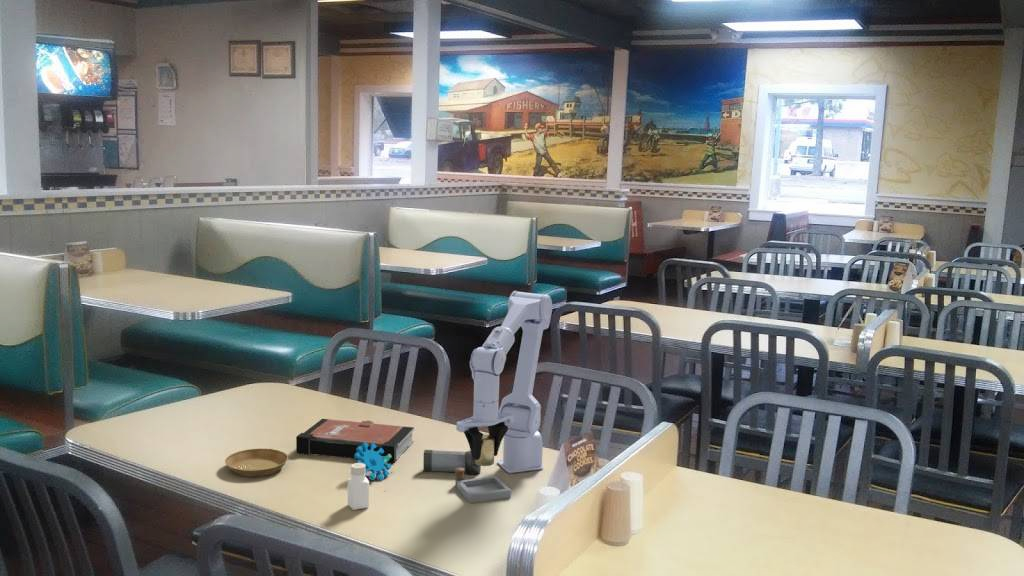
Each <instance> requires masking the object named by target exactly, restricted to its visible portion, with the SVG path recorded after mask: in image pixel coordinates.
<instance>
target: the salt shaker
mask: <svg viewBox="0 0 1024 576" xmlns="http://www.w3.org/2000/svg"><path fill="white" fill-rule="evenodd" d="M350 475H351V476H350V477H349V478H348V479H347V505H348V507H350V508H351V510H353V511H356V510H361V509H368V508H369V506H370V480H369V479H368V478H367V477H366V475H367V473H366V465H365V464H363V462H362V463H356V462H355V463H352V464H351V465H350Z"/></svg>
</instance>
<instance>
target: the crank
mask: <svg viewBox="0 0 1024 576" xmlns="http://www.w3.org/2000/svg"><path fill="white" fill-rule="evenodd" d="M423 451H424V452H423V461H422V462H423V465H422V466H423V470H422V471H424V472H452V473H456V471H455V469H456V468H464V469H465V471H464V474H465V473H466V474H469V475H476V474H480V473H481V471H482V469H481V467H482V466H480V465H477V464H475V459H474V458H472V455H471V450H466V451H457V450H456V451H453V450H433V449H424V450H423Z"/></svg>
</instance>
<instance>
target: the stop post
mask: <svg viewBox="0 0 1024 576" xmlns="http://www.w3.org/2000/svg"><path fill="white" fill-rule="evenodd" d="M455 471H456V472H455V482H454V483H455V484H454V485H455V487H456V488H457V481H461V480H465V472H464V471H465V469H464V468H456V469H455Z"/></svg>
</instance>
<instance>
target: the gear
mask: <svg viewBox="0 0 1024 576" xmlns="http://www.w3.org/2000/svg"><path fill="white" fill-rule="evenodd" d="M368 446H369V445H368V443H363V444H362V446H359V447H357V448H356V450H357V451H358V452H357V453H356V454H355V455H354V457H355V458H356V459H355V460H357V461H356V462H355V463H363V464H365V465H366V474H368V472H371V473H370V475H369V476H368V477H369V479H371V481H373V480H375V479H377V480H378V481H382V480H384V478H386V477H388V476H389V475H390V471H389V470H391V468H392V464H391V463H387V462H388V461H389V459H390V458H391V457H392V456H391V454H388V455H387V456H381V455H379V454H383V453H384V451H383V449H382V448H380V449H379V450H378V451H376V452H375V451H374V449H375V448H376V445H375V444H373V443H372V444H371V445H370V450H368V449H367V447H368ZM362 447H363V448H364V452H363V448H362ZM360 454H361V455H360ZM361 456H362V457H361ZM376 474H377V475H376ZM376 476H377V477H376Z"/></svg>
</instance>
